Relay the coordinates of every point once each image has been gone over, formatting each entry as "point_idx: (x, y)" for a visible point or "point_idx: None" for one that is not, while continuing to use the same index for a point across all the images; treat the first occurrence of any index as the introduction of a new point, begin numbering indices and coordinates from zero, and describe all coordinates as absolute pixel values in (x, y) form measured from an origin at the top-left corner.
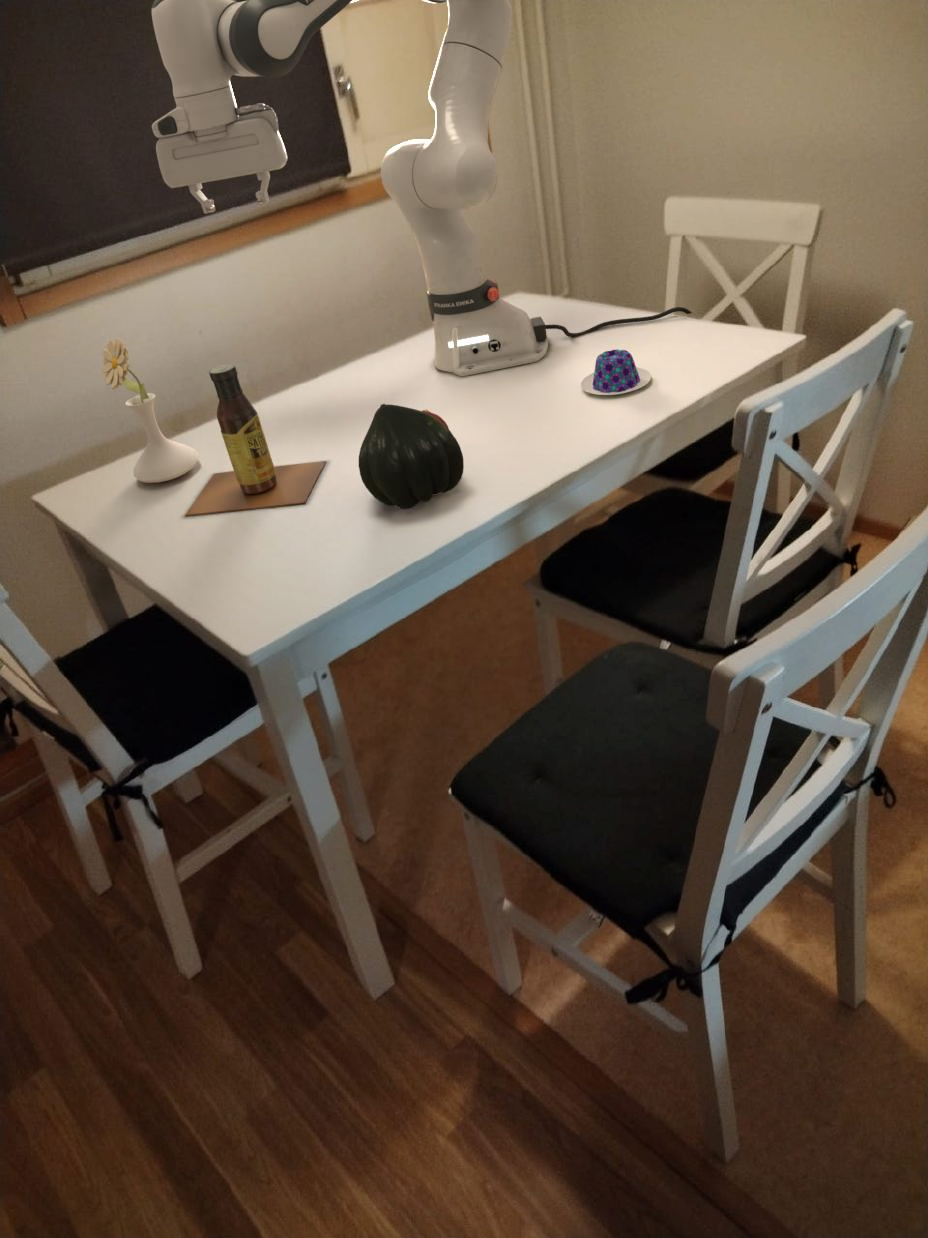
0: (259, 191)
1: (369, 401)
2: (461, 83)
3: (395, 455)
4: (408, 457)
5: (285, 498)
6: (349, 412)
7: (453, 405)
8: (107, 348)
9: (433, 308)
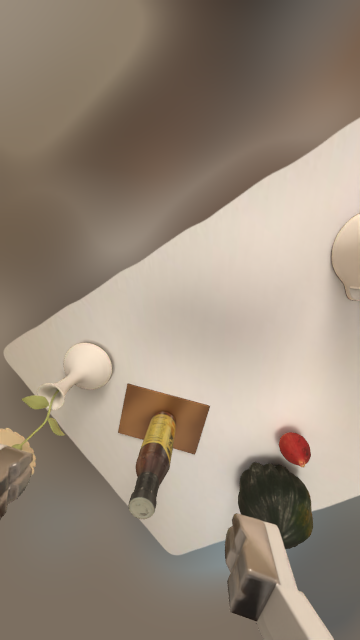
0: (253, 594)
1: (252, 308)
2: None
3: None
4: None
5: (182, 444)
6: (232, 323)
7: (322, 359)
8: None
9: None
